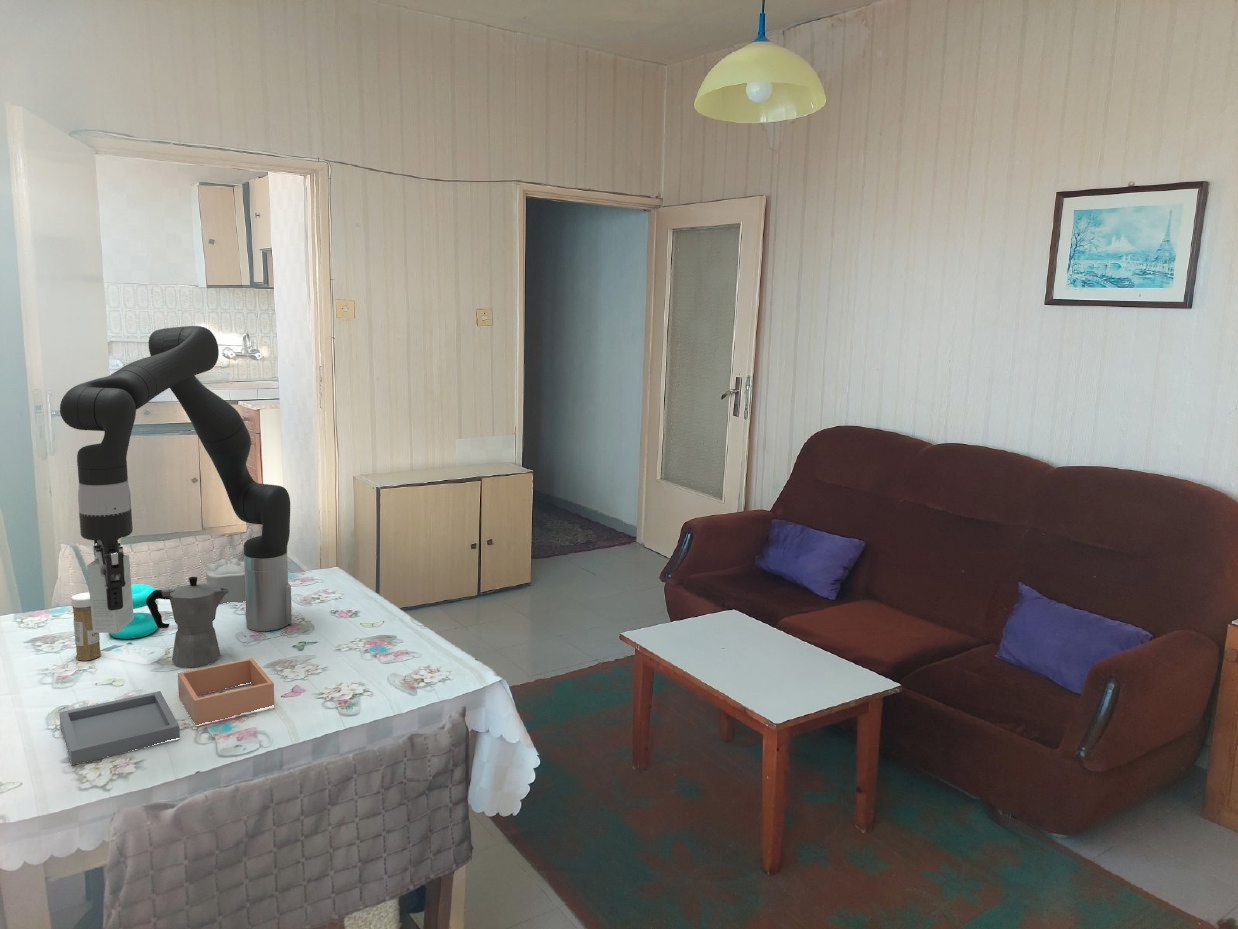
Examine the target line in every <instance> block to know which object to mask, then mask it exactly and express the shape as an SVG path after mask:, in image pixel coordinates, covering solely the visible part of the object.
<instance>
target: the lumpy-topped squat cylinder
mask: <svg viewBox="0 0 1238 929" xmlns="http://www.w3.org/2000/svg"><path fill="white" fill-rule="evenodd" d="M205 571H206V573H205V574H206V584H209V585H214V586H215V587H220V588H223V589H227V590H228V591H229V593H227V594H225V596H224V597H223V598H222V600H221V602H220V603H219V605H224V604H223V603H226V604H228V603H227V602H238V603H244V602H243V601H245V571H244V561H240V560H239V559H238V558H235V557H234V558H232V559H230V560H227V559H223V558H222V559H220V560H219V561H218V562H216V563H209V565H207V569H206V570H205Z"/></svg>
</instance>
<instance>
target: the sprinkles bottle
mask: <svg viewBox="0 0 1238 929" xmlns="http://www.w3.org/2000/svg"><path fill="white" fill-rule="evenodd" d="M71 606H72V612H73V631H74V643H75V649H76V650H75V651H76V652H75V653H76V655H75V658H76V660H78V661H82V662H85V661H93V660H95V659H97V658H99V657H101V656H102V651H101V645H100V644H101V643H100V638H101V637H100V633H94V632H93V627H92V616H91V605H90V593H89V592H82V593H81V592H80V593H77V594H74V595H72V596H71Z"/></svg>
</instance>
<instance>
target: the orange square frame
mask: <svg viewBox="0 0 1238 929" xmlns="http://www.w3.org/2000/svg"><path fill="white" fill-rule="evenodd" d="M250 682H251V684H252V685H253V686H252V685H251V684H250V685H251V686H246V687H241V688H238V689H233V690H228V691H224V690H223V689H225V688H230V689H232V688H231V687H234V688H236V687H235V686H238V685H240V684H246V683H250ZM177 685H178V686H177V687H178V689H177V690H178V698H179V701H180V702H181V704H182V706H183V705H184V706H183V707H184V709H185V711H186V713H187V712H188V713H187V714H188V716H189V715H190V716H189V718H190V717H191V718H190V719H192V720H193V721H192V720H191V721H192V723H193V722H194V723H195V725H199V724H202V723H205V722H212V721H215V720H220V719H225V718H228V717H232V716H234V715H240V714H241V713H244V712H251V711H254V710H257V709H260V708H265V707H269V706H272V705H274V706H275V683H274V682H273V680H272V679H271V678H270V677H269V676H268V675H267V673H266V672H265V671H264V670H263V668H262V667H261V666H260V665H259V663H258V662H257V661H256V660H255V659H254V658H253V657H251V658H246V659H245V658H244V659H241V660H240V659H239V660H237V661H230V662H225V663H222V664H215V665H210V666H204V667H199V668H196V669H195V668H194V669H191V670H186V671H182V672H177ZM219 690H220V691H224V692H219ZM225 690H226V689H225ZM213 691H216V692H218V693H215V694H211V695H206V694H210V693H209V692H211V693H214V692H213ZM202 695H206V696H202ZM198 696H201V697H198ZM194 723H193V724H194ZM195 725H194V726H195Z"/></svg>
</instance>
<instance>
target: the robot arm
mask: <svg viewBox="0 0 1238 929" xmlns="http://www.w3.org/2000/svg"><path fill="white" fill-rule="evenodd" d="M219 350H220V349H219V345H218V341H217V338H216V337H215V335H214V334H213V332H212V331H211V330H210V329H208V328H207V327H204V326H201V325H200V326H199V325H187V326H175V327H174V326H173V327H165V328H160V329H156V330H154V331H153V332H152V333H150V336H149V338H148V351H149V355H150V356H147V357H143V358H140V359H137V360H134V361H133V362H130V363H128V364H126V365H124V366H123V367H121V368H119V369H118V370H116V371H114V372H113V373H111V374H110V375H107V376H103V377H98V378H96V379H92V380H88V381H85V382H82V383H79V384H77V385H74V386H73V387H72V388H70V389H69V390H68V391H67V392H66V393H65V394H63V397H62V398H61V401H60V405H59V414H60V417H61V419H62V420H63V422H64V423H65V424H66V425H67V426H68V427H70V428H72V429H75V430H78V431H94V432H95V431H96V432H104V435H103V438H102V440H101V443H94V444H88V445H85V446H82V447H80V449H78V451H77V455H76V463H77V474H78V475H77V476H78V493H77V500H78V501H77V503H78V513H79V514H78V518H79V528H80V529H79V532H80V536H81V537H82V538H83V539H85V540H89V541H93V546H92V552H93V555H94V557H93V559H94V560H96V559H97V560H98V563H99V566H100V575H101V576H102V577H104V580H105V587H106V594H107V607H108V609H109V610H110V611H112V610H118V609H122V608H123V595H122V587H124V586H125V579H124V562H123V557H124V555H125V553H124V547H123V546H121V543H120V542H119V540H120V539H121V538H125V537H128V536H130V535H131V534H132V533H133V515H132V514H133V513H132V498H131V489H130V485H129V478H128V477H129V476H128V462H127V461H128V460H127V457H128V451H129V446H130V439H131V435H132V432H133V428H134V423H135V420H136V415H137V410H139V409H140V408H142V407H144V406H145V405H146V404H147V403H149V402H150V401H151V400H153V399H154V398H155V397H157V396H158V395H160V394H162V393H164V392H165V391H166V390H168V389H169V390H170V391H171V392H172V393H173V395H174V396H175V398H176V399H177V401H178V402H179V403H180V406H181V407H182V409H183V410H184V412H185V414H186V416H187V417H188V419H189V421H190V422H191V425H192V427H193V428H194V431H195V433H196V436H197V437H198V439H199V441H200V442H201V445H202V446H203V448H204V450H205V451H206V454H207V455H208V456H209V458H210V460H211V462H212V463H213V465H214V468H215V469H216V471H217V473H218V476H219V477H220V479H221V481H222V485H223V486H224V489H225V491H226V494H227V497H228V499H229V502H230V505H231V507H232V510H233V512H234V514H235V515H236V517H237V518H238V519H239V520H241V521H242V522H244V523H247V524H253V525H261V527H262V528H261V535H259V536H254V537H252V538H249V539H247V540H246V541H244V544H243V562H244V571H245V601H246V602H245V621H246V623H245V624H246V625H245V626H246V628H247V629H250V630H252V631H258V632H267V631H268V632H269V631H270V630H271V631H275V630H279V629H282V628H285V627H287V626H289V625H288V624H290V625H292V624H293V623H292V622H293V620H292V619H293V618H292V616H293V615H292V586H291V584H290V583H289V577H288V576H289V571H288V566H289V565H288V544H289V540H290V534H291V533H290V532H291V530H290V529H291V528H290V526H291V524H290V523H291V499H290V498H291V497H290V495H289V492H288V490H287V489H286V488H285V487H284V486H281V485H277V484H276V485H275V484H269V483H268V484H267V483H258V482H257V481H255V480H254V478H253V477H252V475H251V474H250V472H249V469H248V466H247V462H248V459H249V458H248V457H249V455H250V451H251V446H252V438H251V435H250V432H249V430H248V428H247V427H246V425H245V422H244V420H243V417H242V416H241V414H240V413H239V411H238V410H237V409H236V408H235V407H234V406H233V405H231V404H230V403H229V402H227V401H226V400H225V399H223V398H222V397H221V396H219V395H217V394H216V393H214V392H213V391H211V390H210V389H209V388H207V387H206V385H204V384H202V383H201V381H200V380H199V379H198V378H197V377H196V376H198V375H200V374H203V373H206V372H209V371H210V370H212V369H213V368H215V365H216V364H217V362H218V360H219V356H220V354H219ZM94 560H93V561H94ZM103 564H106V569H104V566H103ZM113 574H116V575H117V576H118V580H114V581H111V575H113ZM284 626H285V627H284Z"/></svg>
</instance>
